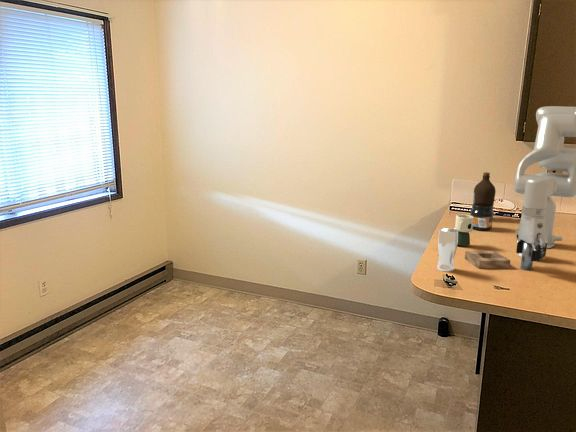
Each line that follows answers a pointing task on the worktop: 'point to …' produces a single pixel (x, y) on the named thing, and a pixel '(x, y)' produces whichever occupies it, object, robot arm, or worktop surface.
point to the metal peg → (526, 257)
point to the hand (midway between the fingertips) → (527, 256)
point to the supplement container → (482, 216)
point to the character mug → (464, 229)
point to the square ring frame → (487, 259)
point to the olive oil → (484, 191)
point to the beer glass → (447, 248)
